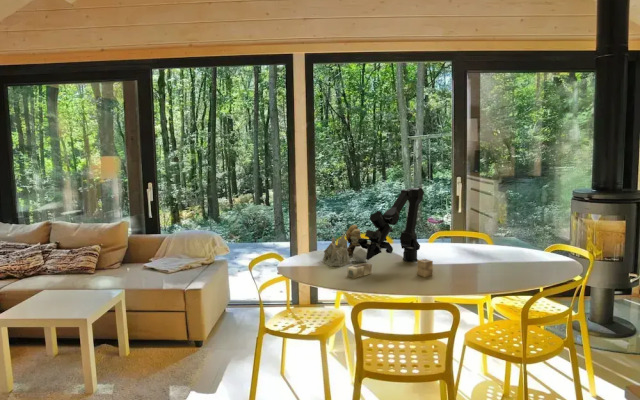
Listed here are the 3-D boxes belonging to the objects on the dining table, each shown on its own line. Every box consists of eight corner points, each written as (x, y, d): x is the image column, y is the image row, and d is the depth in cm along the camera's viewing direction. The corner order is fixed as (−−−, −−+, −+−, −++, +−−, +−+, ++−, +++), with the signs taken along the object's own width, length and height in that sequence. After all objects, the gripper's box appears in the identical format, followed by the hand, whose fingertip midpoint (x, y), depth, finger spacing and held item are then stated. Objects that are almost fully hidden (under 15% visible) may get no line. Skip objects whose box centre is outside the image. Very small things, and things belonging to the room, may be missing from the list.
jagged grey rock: (328, 257, 254) (328, 231, 251) (355, 261, 245) (355, 234, 243) (314, 265, 240) (314, 237, 238) (342, 270, 232) (342, 241, 230)
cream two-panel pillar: (364, 262, 222) (347, 267, 214) (371, 264, 219) (354, 268, 211) (364, 272, 222) (347, 276, 214) (371, 273, 219) (354, 278, 211)
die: (363, 265, 239) (372, 249, 241) (349, 256, 240) (358, 241, 242) (362, 266, 247) (370, 251, 249) (348, 258, 248) (357, 243, 250)
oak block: (425, 273, 218) (425, 258, 218) (432, 275, 214) (432, 260, 213) (417, 274, 216) (417, 259, 215) (424, 276, 212) (424, 262, 211)
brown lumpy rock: (367, 257, 254) (367, 227, 253) (346, 257, 254) (346, 227, 252) (364, 250, 272) (364, 222, 271) (344, 250, 272) (344, 222, 270)
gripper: (359, 222, 229) (344, 246, 222) (389, 225, 215) (374, 252, 209) (369, 235, 235) (355, 259, 228) (399, 240, 221) (385, 266, 215)
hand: (367, 259), depth 220 cm, fingers closed
